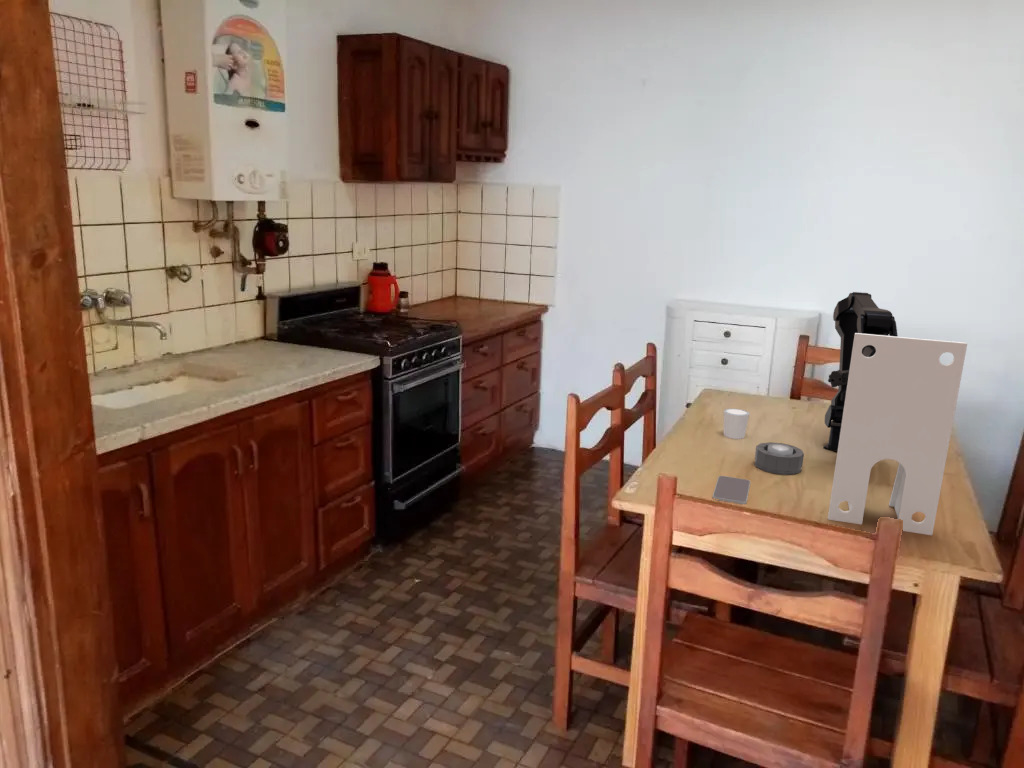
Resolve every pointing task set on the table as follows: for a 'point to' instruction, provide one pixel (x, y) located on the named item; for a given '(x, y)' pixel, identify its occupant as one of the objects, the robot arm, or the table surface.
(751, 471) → the table surface
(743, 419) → the white cylinder
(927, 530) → the white bracket plate
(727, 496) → the grey square plate
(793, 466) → the grey ring
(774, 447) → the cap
